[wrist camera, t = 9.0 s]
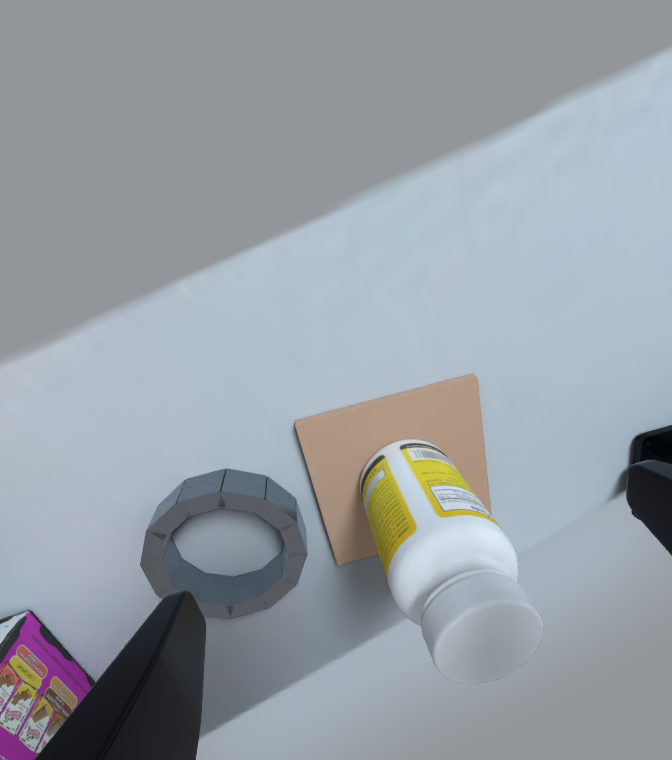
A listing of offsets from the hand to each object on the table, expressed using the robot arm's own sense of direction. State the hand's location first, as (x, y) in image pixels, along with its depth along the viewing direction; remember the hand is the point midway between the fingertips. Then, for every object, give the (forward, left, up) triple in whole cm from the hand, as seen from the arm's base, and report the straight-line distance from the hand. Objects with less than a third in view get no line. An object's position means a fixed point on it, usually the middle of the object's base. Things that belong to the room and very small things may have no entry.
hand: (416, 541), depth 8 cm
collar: (+8, +9, -13) cm, 18 cm away
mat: (-2, +8, -13) cm, 15 cm away
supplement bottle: (-2, +8, -13) cm, 15 cm away
